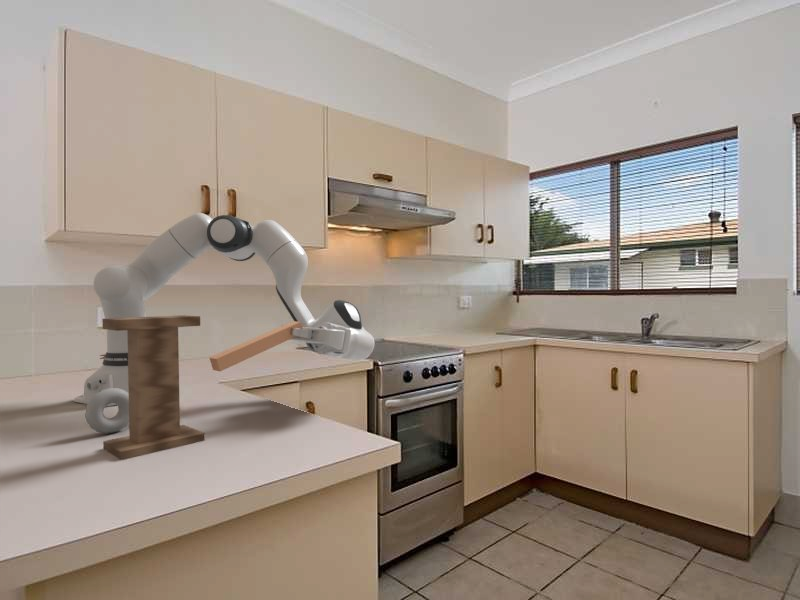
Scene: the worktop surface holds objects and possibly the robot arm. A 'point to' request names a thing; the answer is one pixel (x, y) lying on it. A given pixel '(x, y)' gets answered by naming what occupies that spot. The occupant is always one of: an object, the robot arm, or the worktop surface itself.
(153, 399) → the stand
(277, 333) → the rod
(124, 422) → the donut
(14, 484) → the worktop surface
